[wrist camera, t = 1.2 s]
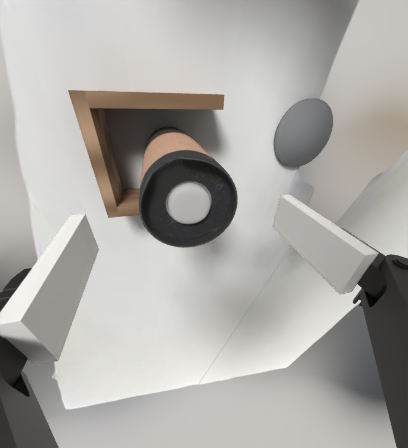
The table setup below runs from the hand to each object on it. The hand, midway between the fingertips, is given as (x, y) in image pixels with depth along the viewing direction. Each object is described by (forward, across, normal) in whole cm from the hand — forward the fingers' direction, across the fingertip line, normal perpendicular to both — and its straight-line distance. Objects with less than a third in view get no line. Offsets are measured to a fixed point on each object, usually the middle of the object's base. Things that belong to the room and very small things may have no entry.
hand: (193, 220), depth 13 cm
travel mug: (+21, 0, 0) cm, 21 cm away
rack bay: (+21, -1, 0) cm, 21 cm away
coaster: (+21, +24, +2) cm, 32 cm away
